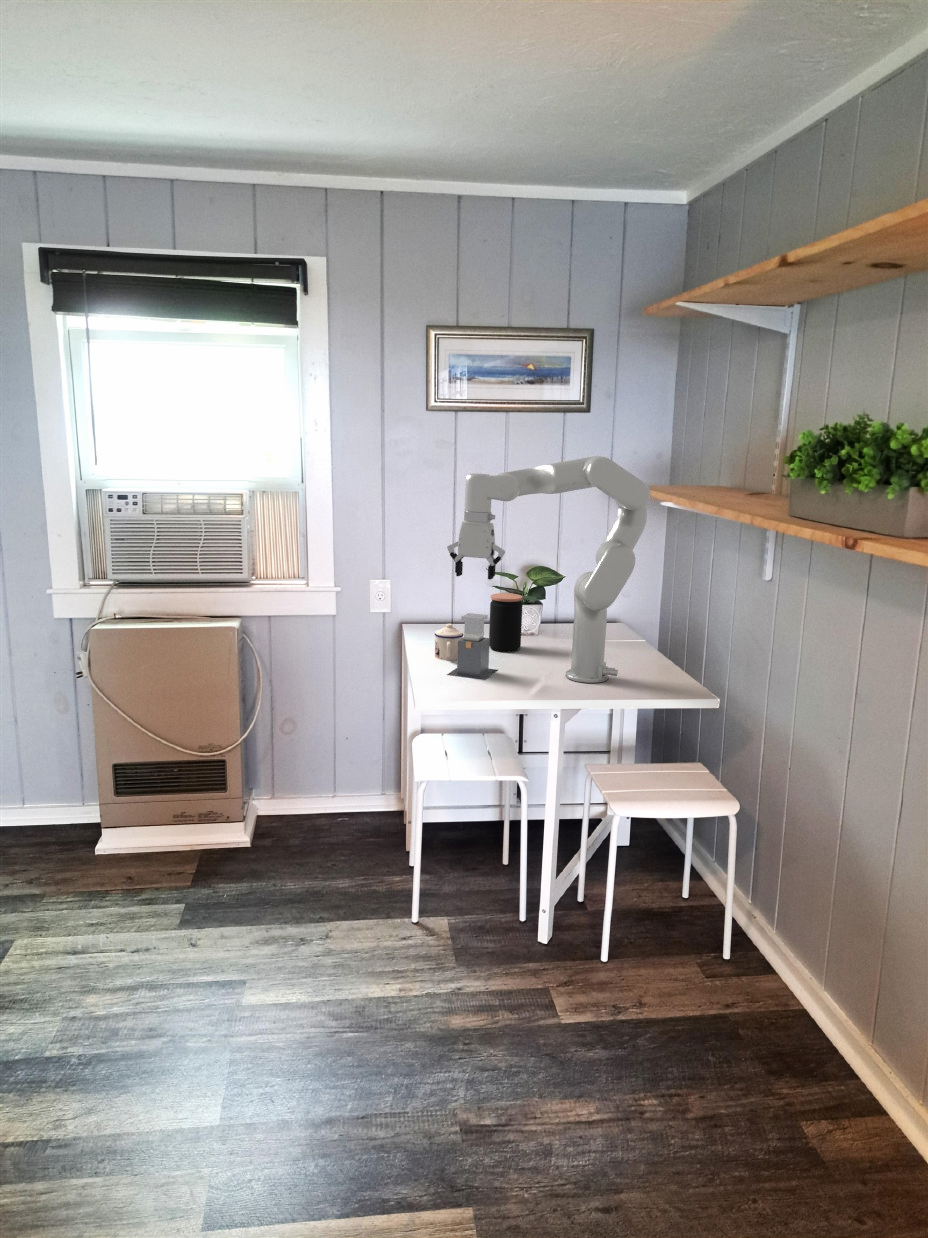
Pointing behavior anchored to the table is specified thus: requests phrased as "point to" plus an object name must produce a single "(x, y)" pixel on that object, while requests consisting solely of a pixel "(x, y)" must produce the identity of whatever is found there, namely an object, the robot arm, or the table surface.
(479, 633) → the column
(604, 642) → the robot arm
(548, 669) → the table surface
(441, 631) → the teacup with lid
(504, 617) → the coffee jar
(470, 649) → the stand
